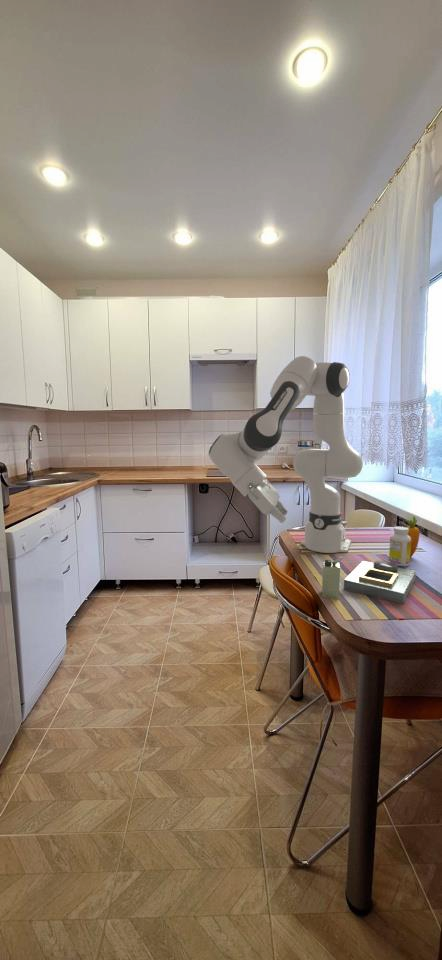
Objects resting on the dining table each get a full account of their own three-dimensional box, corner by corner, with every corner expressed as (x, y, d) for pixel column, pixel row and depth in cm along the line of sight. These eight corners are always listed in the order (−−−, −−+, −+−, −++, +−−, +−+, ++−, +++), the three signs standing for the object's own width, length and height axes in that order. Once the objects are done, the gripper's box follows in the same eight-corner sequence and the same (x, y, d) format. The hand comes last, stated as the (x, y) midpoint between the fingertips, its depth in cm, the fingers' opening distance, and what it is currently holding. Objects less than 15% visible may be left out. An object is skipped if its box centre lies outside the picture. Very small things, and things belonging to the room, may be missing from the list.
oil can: (321, 591, 111) (323, 552, 109) (340, 592, 110) (342, 553, 108) (322, 597, 106) (324, 557, 105) (341, 599, 105) (343, 558, 104)
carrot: (409, 559, 137) (412, 519, 135) (399, 555, 142) (402, 516, 140) (420, 558, 139) (423, 518, 137) (410, 554, 143) (413, 515, 141)
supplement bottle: (405, 560, 136) (407, 525, 135) (412, 567, 130) (415, 530, 128) (385, 560, 137) (388, 525, 135) (392, 566, 131) (394, 530, 129)
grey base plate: (364, 567, 130) (365, 554, 129) (416, 577, 121) (417, 564, 120) (343, 589, 112) (344, 574, 111) (403, 603, 103) (404, 588, 102)
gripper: (254, 478, 99) (291, 517, 98) (263, 471, 119) (294, 504, 118) (237, 494, 101) (274, 533, 100) (249, 485, 120) (279, 517, 119)
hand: (285, 517), depth 109 cm, fingers open, 8 cm apart
